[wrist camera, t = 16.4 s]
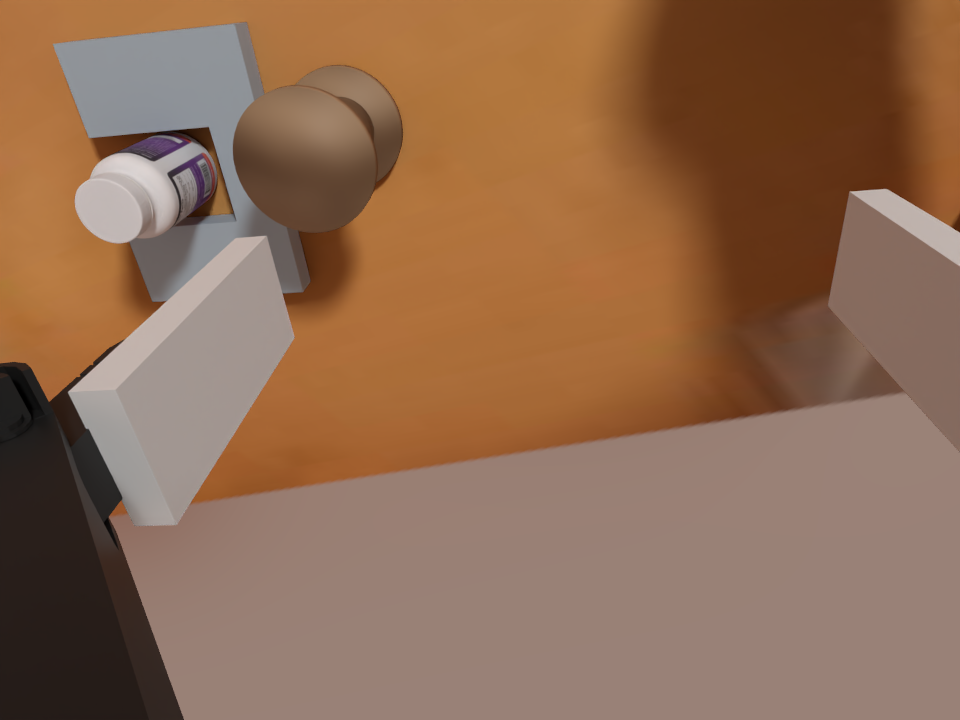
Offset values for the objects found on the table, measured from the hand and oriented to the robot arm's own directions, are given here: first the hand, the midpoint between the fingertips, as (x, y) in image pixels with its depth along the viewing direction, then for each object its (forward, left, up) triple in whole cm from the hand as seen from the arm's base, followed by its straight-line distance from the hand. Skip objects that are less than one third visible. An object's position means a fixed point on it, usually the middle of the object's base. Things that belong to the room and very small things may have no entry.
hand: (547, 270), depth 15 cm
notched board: (+4, -24, -32) cm, 40 cm away
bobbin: (+2, -13, -32) cm, 34 cm away
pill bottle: (+4, -25, -32) cm, 41 cm away
